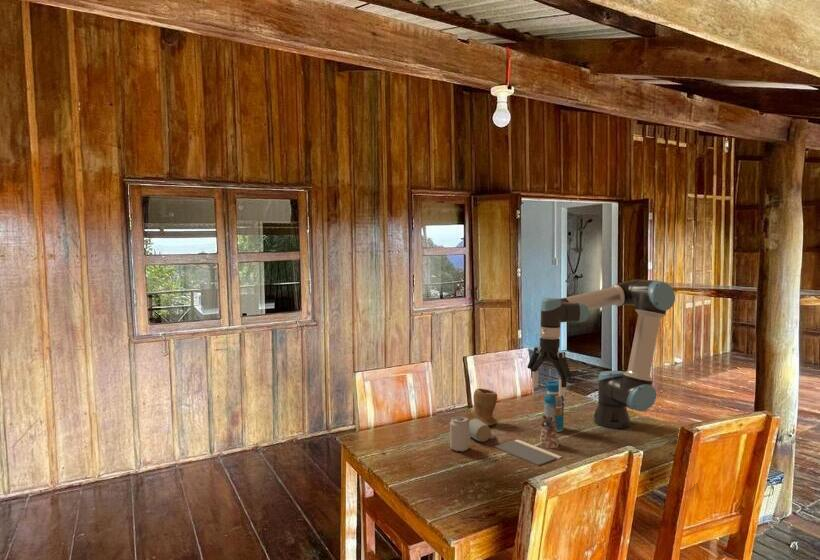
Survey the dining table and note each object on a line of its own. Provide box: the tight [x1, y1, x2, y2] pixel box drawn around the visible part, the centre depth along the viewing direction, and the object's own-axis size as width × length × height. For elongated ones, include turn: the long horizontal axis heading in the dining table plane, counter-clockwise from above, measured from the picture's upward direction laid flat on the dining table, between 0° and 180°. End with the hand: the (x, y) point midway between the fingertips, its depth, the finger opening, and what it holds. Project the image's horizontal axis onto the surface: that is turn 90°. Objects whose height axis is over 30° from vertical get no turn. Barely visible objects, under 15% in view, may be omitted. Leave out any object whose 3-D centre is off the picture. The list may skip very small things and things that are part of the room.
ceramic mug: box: [468, 419, 495, 443], centre depth 218 cm, size 11×8×8 cm
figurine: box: [539, 414, 559, 449], centre depth 211 cm, size 7×7×12 cm
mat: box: [494, 440, 558, 467], centre depth 203 cm, size 10×22×1 cm, turn 35°
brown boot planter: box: [459, 388, 498, 427], centre depth 239 cm, size 15×12×15 cm
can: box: [449, 416, 470, 452], centre depth 208 cm, size 8×8×12 cm
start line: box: [513, 439, 562, 460], centre depth 207 cm, size 2×22×1 cm, turn 35°
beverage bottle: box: [543, 381, 565, 433], centre depth 229 cm, size 8×8×20 cm
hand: (547, 391), depth 211 cm, fingers open, 13 cm apart
